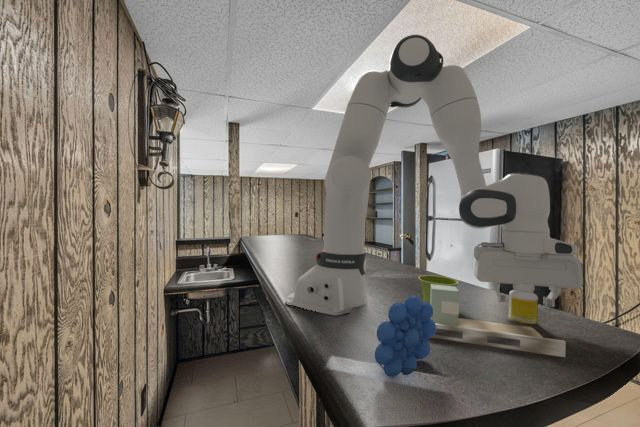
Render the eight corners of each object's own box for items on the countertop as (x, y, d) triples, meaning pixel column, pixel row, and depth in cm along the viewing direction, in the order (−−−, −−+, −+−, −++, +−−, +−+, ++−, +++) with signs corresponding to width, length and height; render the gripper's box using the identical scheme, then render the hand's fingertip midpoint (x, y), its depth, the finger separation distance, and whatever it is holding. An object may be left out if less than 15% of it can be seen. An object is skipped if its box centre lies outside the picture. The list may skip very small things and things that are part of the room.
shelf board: (424, 344, 53) (425, 323, 53) (421, 319, 65) (421, 302, 65) (565, 366, 46) (565, 342, 46) (531, 334, 59) (532, 315, 59)
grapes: (413, 353, 49) (415, 286, 49) (445, 373, 43) (447, 296, 43) (358, 367, 44) (360, 292, 44) (386, 392, 38) (388, 305, 38)
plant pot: (456, 311, 72) (457, 277, 72) (458, 323, 63) (459, 285, 64) (419, 305, 76) (419, 273, 76) (415, 316, 67) (416, 281, 67)
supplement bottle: (542, 331, 60) (543, 286, 60) (515, 329, 61) (516, 284, 61) (529, 322, 65) (530, 281, 65) (503, 320, 66) (504, 279, 67)
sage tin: (458, 331, 56) (459, 291, 56) (431, 327, 57) (432, 288, 57) (455, 323, 59) (455, 286, 59) (429, 320, 61) (430, 284, 61)
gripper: (477, 243, 64) (476, 303, 64) (587, 247, 58) (587, 313, 58) (471, 240, 70) (470, 295, 70) (570, 244, 64) (569, 304, 64)
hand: (524, 303), depth 64 cm, fingers open, 8 cm apart
